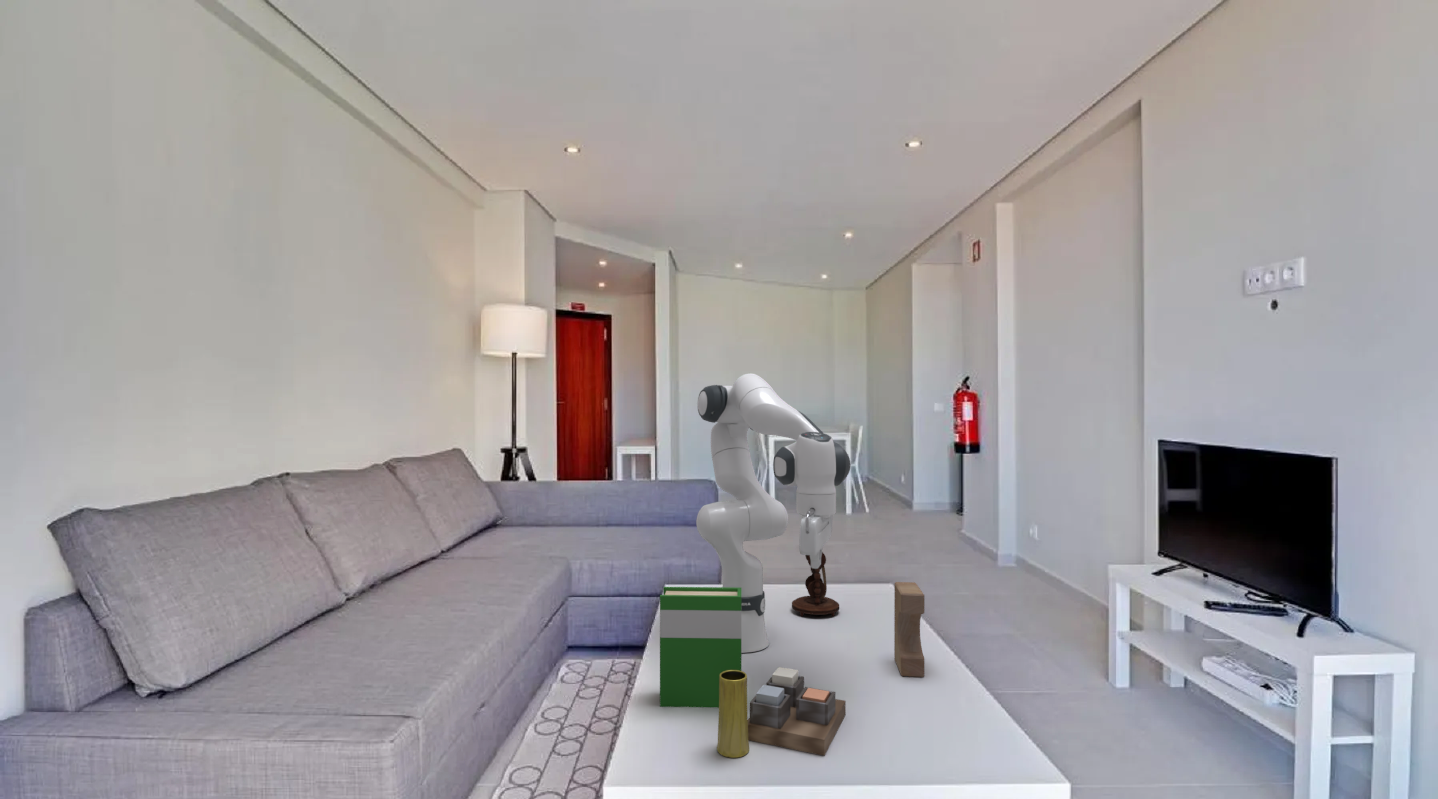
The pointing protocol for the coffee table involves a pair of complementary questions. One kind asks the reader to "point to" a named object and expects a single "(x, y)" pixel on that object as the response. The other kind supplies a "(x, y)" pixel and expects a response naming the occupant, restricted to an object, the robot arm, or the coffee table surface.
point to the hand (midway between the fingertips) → (815, 567)
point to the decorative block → (908, 629)
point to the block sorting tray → (796, 720)
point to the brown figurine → (816, 594)
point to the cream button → (785, 676)
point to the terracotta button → (816, 695)
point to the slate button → (770, 695)
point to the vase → (733, 714)
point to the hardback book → (697, 643)
